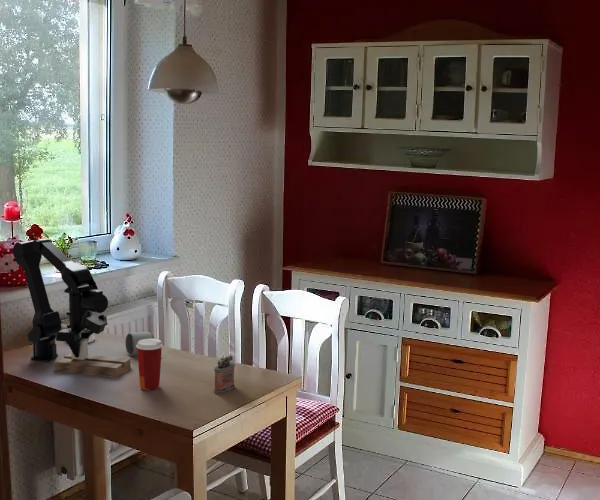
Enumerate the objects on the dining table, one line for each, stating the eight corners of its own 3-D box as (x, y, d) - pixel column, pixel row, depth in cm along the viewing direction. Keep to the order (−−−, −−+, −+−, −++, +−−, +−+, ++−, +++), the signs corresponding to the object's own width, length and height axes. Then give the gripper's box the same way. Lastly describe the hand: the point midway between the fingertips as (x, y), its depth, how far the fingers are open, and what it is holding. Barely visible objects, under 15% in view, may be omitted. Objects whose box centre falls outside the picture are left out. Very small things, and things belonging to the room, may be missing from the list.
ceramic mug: (156, 354, 253) (156, 332, 252) (133, 358, 248) (133, 335, 247) (143, 347, 262) (142, 325, 260) (121, 350, 257) (120, 329, 256)
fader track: (54, 370, 234) (54, 361, 233) (70, 361, 243) (70, 351, 243) (116, 377, 229) (116, 367, 229) (130, 367, 239) (130, 357, 238)
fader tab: (71, 363, 236) (71, 340, 235) (76, 360, 239) (76, 337, 238) (83, 364, 235) (82, 341, 234) (88, 361, 238) (87, 338, 237)
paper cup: (167, 384, 224) (167, 339, 222) (154, 393, 217) (154, 346, 215) (144, 381, 227) (144, 336, 224) (131, 389, 219) (130, 343, 217)
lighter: (220, 395, 217) (220, 362, 215) (211, 392, 219) (211, 359, 217) (237, 387, 224) (237, 355, 222) (228, 385, 225) (228, 353, 224)
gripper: (87, 317, 223) (88, 367, 226) (115, 303, 241) (116, 349, 244) (54, 314, 226) (55, 363, 228) (84, 300, 244) (85, 346, 246)
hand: (79, 355), depth 237 cm, fingers closed on fader tab, 3 cm apart
